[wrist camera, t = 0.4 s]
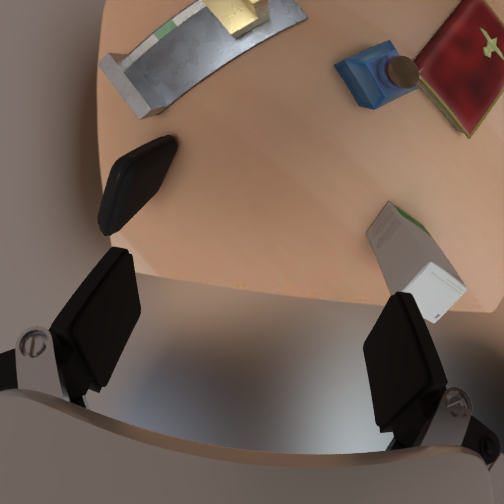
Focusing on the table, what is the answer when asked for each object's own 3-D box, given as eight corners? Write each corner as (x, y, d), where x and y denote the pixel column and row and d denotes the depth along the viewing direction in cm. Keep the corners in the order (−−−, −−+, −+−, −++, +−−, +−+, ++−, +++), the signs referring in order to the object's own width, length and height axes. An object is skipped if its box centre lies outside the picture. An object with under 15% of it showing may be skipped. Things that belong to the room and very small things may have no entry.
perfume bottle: (333, 65, 28) (359, 54, 18) (372, 46, 26) (411, 32, 16) (359, 106, 31) (394, 115, 20) (396, 87, 28) (443, 91, 18)
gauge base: (261, -33, 21) (257, -52, 16) (307, 19, 25) (312, 6, 20) (121, 64, 29) (97, 64, 24) (159, 114, 33) (139, 120, 28)
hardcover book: (401, 73, 27) (414, 72, 24) (463, -4, 17) (477, -9, 13) (455, 133, 30) (470, 139, 27) (509, 54, 20) (525, 55, 16)
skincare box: (423, 225, 38) (471, 288, 25) (399, 256, 42) (434, 326, 28) (386, 198, 37) (433, 260, 24) (361, 233, 40) (392, 305, 27)
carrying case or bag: (156, 200, 40) (108, 254, 28) (140, 191, 40) (86, 241, 27) (185, 137, 35) (135, 168, 23) (166, 128, 34) (109, 155, 22)
